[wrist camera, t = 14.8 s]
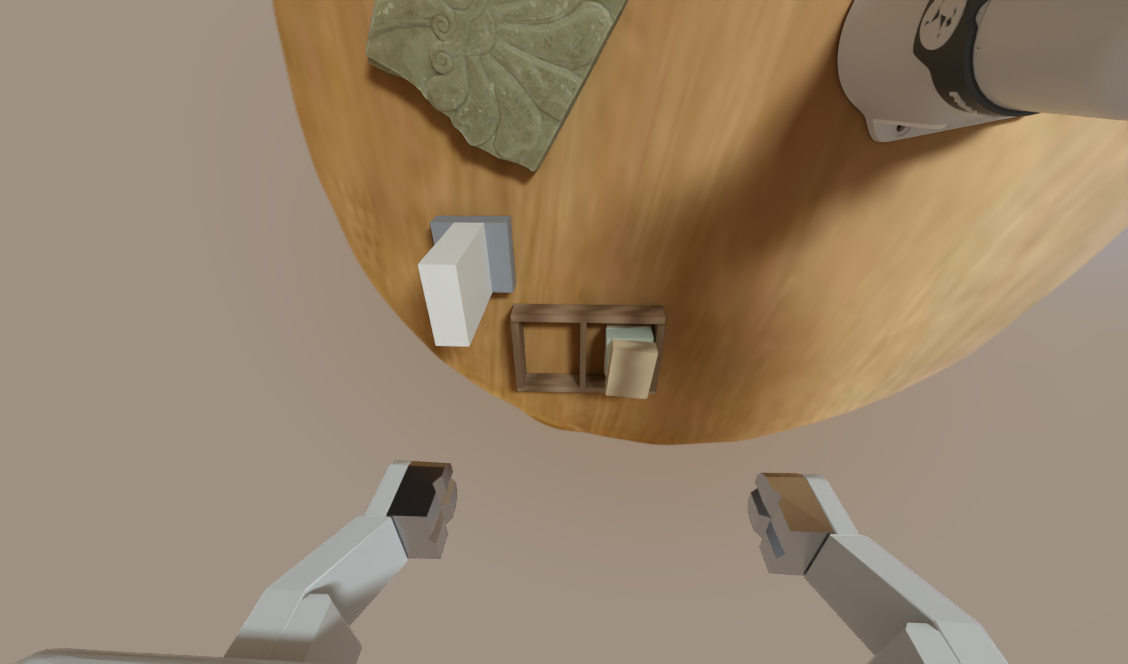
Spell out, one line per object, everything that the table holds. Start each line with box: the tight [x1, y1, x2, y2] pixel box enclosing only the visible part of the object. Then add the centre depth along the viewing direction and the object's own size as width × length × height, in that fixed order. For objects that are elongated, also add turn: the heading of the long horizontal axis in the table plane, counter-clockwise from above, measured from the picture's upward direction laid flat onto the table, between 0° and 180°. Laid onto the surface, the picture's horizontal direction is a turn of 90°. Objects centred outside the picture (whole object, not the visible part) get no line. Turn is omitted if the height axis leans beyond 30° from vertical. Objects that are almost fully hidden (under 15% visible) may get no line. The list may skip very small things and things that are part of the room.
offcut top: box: [605, 339, 658, 399], centre depth 54 cm, size 6×8×2 cm
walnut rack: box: [510, 304, 666, 394], centre depth 57 cm, size 20×13×4 cm, turn 91°
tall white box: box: [418, 223, 492, 346], centre depth 44 cm, size 4×9×12 cm, turn 0°
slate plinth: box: [430, 216, 516, 293], centre depth 50 cm, size 9×9×2 cm
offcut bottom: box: [604, 323, 652, 375], centre depth 58 cm, size 6×8×2 cm
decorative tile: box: [366, 0, 628, 172], centre depth 38 cm, size 19×20×4 cm
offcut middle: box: [606, 328, 654, 374], centre depth 56 cm, size 6×8×2 cm
